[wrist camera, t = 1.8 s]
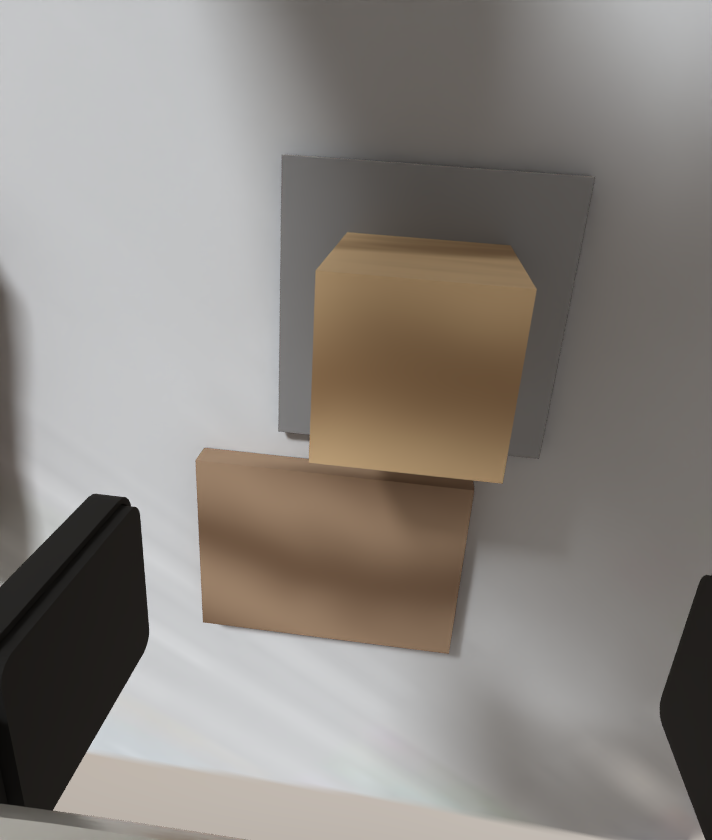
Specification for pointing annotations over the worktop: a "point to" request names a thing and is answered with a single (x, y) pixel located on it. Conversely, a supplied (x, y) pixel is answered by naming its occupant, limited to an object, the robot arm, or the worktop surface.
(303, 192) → the pad
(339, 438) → the oak block
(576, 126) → the worktop surface
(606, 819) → the worktop surface
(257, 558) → the walnut board
